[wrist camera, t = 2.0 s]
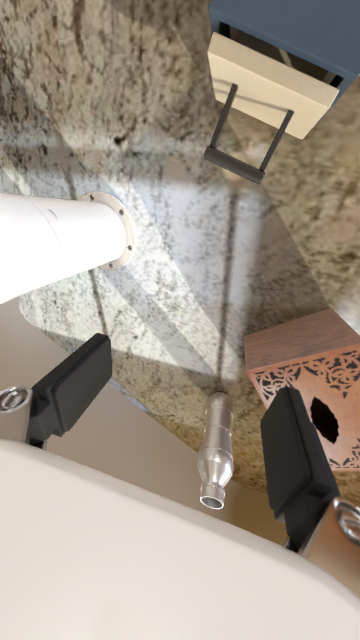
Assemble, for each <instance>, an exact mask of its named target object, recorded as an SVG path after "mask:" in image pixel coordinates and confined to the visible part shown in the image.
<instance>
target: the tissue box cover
mask: <svg viewBox="0 0 360 640" xmlns="http://www.w3.org/2000/svg"><path fill="white" fill-rule="evenodd" d="M244 349H245V365H246V372H247V374H248V376H249V378H250V379H251V381H252V383H253V385H254V387H255V389H256V391H257V393H258V395H259V396H260V398H261V400H262V402H263V404H264V406H265V408H266V410H267V409H268V408H269V406H270V404H271V402H272V401H273V399H274V397H275V396H276V394H277V392H278V390H279V389H280V388H284V387H285V386H287V387H291V388H295V389H298V390H299V391H300V393H301V396H302V399H303V402H304V404H305V407H306V410H307V413H308V415H309V418H310V421H311V422H312V423H313V424H314V426H315V428H316V430H317V433H318V436H319V438H320V441H321V444H322V446H323V449H324V452H325V454H326V457H327V460H328V463H329V465H330V468H331V471H360V336H359V335H358V334H357V333H356V332H355V331H354V330H353V329H352V328H351V327H350V326H349V325H348V324H347V323H346V322H345V321H344V320H343V319H342V318H341V317H340V316H339V315H338V314H337V313H336V312H335V311H334V310H333V309H331V308H328V309H325V310H322V311H319V312H316V313H312V314H309V315H306V316H303V317H300V318H297V319H294V320H291V321H287V322H284V323H281V324H278V325H275V326H272V327H269V328H266V329H263V330H259V331H256V332H253V333H250V334H247V335H244Z"/></svg>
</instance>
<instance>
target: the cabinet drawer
mask: <svg viewBox="0 0 360 640" xmlns="http://www.w3.org/2000/svg"><path fill="white" fill-rule="evenodd" d="M207 53H208V59H209V65H210V70H211V76H212V82H213V88H214V93H215V99H216V100H218V101H220V102H222V103H225V105H224V108H223V111H222V114H221V116H220V119H219V122H218V125H217V127H216V130H215V133H214V135H213V138H212V141H211V144H210V146H207V148H206V151H205V154H204V159H206V160H208V161H210V162H212V163H214V164H216V165H218V166H220V167H222V168H225V169H227V170H229V171H231V172H233V173H235V174H237V175H239V176H241V177H243V178H245V179H248V180H250V181H252V182H254V183H256V184H258V185H259V184H260V182H261V181H262V179H263V177H264V175H265V172H264V171H265V169H266V167H267V165H268V163H269V161H270V159H271V157H272V155H273V153H274V151H275V149H276V147H277V145H278V143H279V141H280V139H281V137H282V135H283V133H284V132H286V133H288V134H290V135H293V136H295V137H297V138H299V139H301V140H302V139H303V138H304V137H305V136H306V135H307V133H308V132H309V131H310V130H311V129H312V128H313V126H314V125H315V124H316V123H317V122H318V121H319V119H320V118H321V117H322V116H323V115H324V114H325V112H326V111H327V110H328V109H329V108H330V106H331V104H332V103H333V101H334V99H335V97H336V96H337V94H338V92H339V89H337V88H335V87H333V86H331V85H329V84H330V83H331V82H332V80H333V79H334V77H335V76H336V74H334V73H332V72H330V71H328V70H326V69H323V68H321V67H319V66H317V65H315V64H313V63H310V62H308V61H306V60H304V59H302V58H299V57H297V56H295V55H293V54H291V53H289V52H286V51H284V50H282V49H280V48H278V47H276V46H273V45H271V44H269V43H267V42H265V41H263V40H260V39H258V38H256V37H254V36H252V35H250V34H247V33H245V32H243V31H241V30H239V29H237V28H234V27H232V26H230V39H229V38H227V37H225V36H223V35H221V34H218V33H216V32H213V34H212V38H211V41H210V44H209V48H208V51H207ZM231 107H233V108H235V109H237V110H239V111H242V112H244V113H246V114H248V115H250V116H252V117H254V118H256V119H259V120H261V121H263V122H265V123H267V124H269V125H271V126H273V127H276V128H278V129H279V130H278V132H277V134H276V136H275V138H274V140H273V142H272V144H271V146H270V148H269V150H268V152H267V154H266V156H265V158H264V160H263V162H262V164H261V166H260V168H259V169H257V168H255V167H253V166H251V165H249V164H247V163H244V162H242V161H240V160H238V159H236V158H234V157H232V156H230V155H228V154H226V153H223V152H221V151H219V150H217V149H215V148H216V145H217V143H218V140H219V138H220V135H221V132H222V130H223V127H224V124H225V122H226V119H227V116H228V114H229V111H230V109H231Z"/></svg>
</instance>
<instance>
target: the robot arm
mask: <svg viewBox="0 0 360 640" xmlns="http://www.w3.org/2000/svg"><path fill="white" fill-rule="evenodd" d="M123 211H124V214H123ZM136 245H137V232H136V227H135V224H134V221H133V218H132V216H131V215H130V213H129V211H128V210H127V208H126V207H125V206H124V205H123V204H122V203H121V202H120V201H119V200H118V199H117V198H115V197H113V196H112V195H110V194H107V193H103V192H89V193H86V194H84V195H82V196H81V197H80V198H79V199H78V200H77V201H75V200H65V199H55V198H49V197H45V198H44V197H34V196H24V195H14V194H6V193H0V304H2V303H4V302H6V301H8V300H10V299H12V298H15V297H17V296H19V295H22V294H24V293H27V292H29V291H32V290H34V289H37V288H40V287H42V286H45V285H48V284H51V283H54V282H57V281H59V280H62V279H65V278H68V277H70V276H73V275H76V274H79V273H81V272H84V271H87V270H90V269H92V268H95V267H99V268H101V269H105V270H115V269H118V268H121V267H123V266H124V265H126V264H127V263H128V262H129V261H130V260H131V259H132V257H133V255H134V253H135V250H136ZM131 247H132V248H131ZM111 376H112V359H111V341H110V339H109V338H108V336H107V335H103V334H100V333H96V334H95V335H94V336H93V337H91V338H90V339H89V340H88V341H87V342H85V343H84V344H83V345H82V346H81V347H79V348H78V349H77V350H76V351H75V352H73V353H72V354H71V355H70V356H69V357H68V358H66V359H65V360H64V361H63V362H61V363H60V364H59V365H58V366H57V367H55V368H54V369H53V370H52V371H51V372H50V373H48V374H47V375H46V376H45V377H43V378H42V379H41V380H40V381H39V382H38V383H36V384H35V385H34V386H33V387H32V388H29V387H28V386H22V385H20V386H14V387H10V388H8V389H5V390H3V391H2V392H0V640H360V506H358V505H357V504H356V503H355V502H353V501H351V500H349V499H348V498H345V497H341V495H340V492H339V489H338V487H337V484H336V481H335V479H334V476H333V473H332V471H331V468H330V465H329V463H328V460H327V457H326V454H325V452H324V449H323V446H322V444H321V441H320V438H319V436H318V433H317V430H316V428H315V426H314V424H313V423H312V422H311V421H310V418H309V415H308V413H307V410H306V407H305V404H304V402H303V399H302V396H301V393H300V391H299V390H298V389H295V388H291V387H287V386H285V387H284V388H280V389H279V390H278V392H277V394H276V396H275V397H274V399H273V401H272V402H271V404H270V406H269V408H268V409H267V411H266V413H265V414H264V416H263V418H262V420H261V425H260V427H261V436H262V445H263V453H264V462H265V471H266V480H267V488H268V496H269V505H270V507H271V509H273V510H274V516H275V520H278V521H280V522H283V523H285V524H286V530H287V534H288V537H287V538H286V540H285V541H284V543H283V545H282V546H280V545H278V544H276V543H273V542H271V541H268V540H266V539H264V538H262V537H259V536H257V535H255V534H252V533H250V532H247V531H245V530H243V529H241V528H238V527H236V526H233V525H231V524H228V523H226V522H224V521H221V520H219V519H216V518H214V517H211V516H209V515H206V514H204V513H202V512H199V511H197V510H194V509H192V508H189V507H187V506H184V505H182V504H179V503H177V502H174V501H172V500H170V499H167V498H164V497H162V496H160V495H157V494H155V493H152V492H150V491H147V490H144V489H142V488H139V487H137V486H135V485H132V484H130V483H127V482H124V481H122V480H120V479H117V478H114V477H112V476H110V475H107V474H104V473H102V472H99V471H97V470H94V469H92V468H89V467H87V466H84V465H82V464H79V463H76V462H74V461H72V460H69V459H66V458H64V457H62V456H59V455H56V454H53V453H51V452H48V451H46V446H47V439H48V438H49V437H50V436H51V434H54V435H57V436H59V437H62V435H63V434H64V433H65V432H67V431H69V430H70V429H71V428H72V427H73V425H74V424H75V423H76V422H77V420H78V419H79V418H80V417H81V415H82V414H83V413H84V411H85V410H86V409H87V407H88V406H89V405H90V404H91V402H92V401H93V400H94V398H95V397H96V396H97V394H98V393H99V392H100V391H101V389H102V388H103V387H104V386H105V384H106V383H107V382H108V381H109V379H110V378H111Z"/></svg>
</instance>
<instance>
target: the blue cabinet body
mask: <svg viewBox="0 0 360 640" xmlns="http://www.w3.org/2000/svg"><path fill="white" fill-rule="evenodd" d="M208 8H209V16H210V22H211V30H212V34H213V32H216V33H218V34H221V35H223V36H225V37H227V38H229V39H230V26H232V27H234V28H237V29H239V30H241V31H243V32H245V33H247V34H250V35H252V36H254V37H256V38H258V39H260V40H263V41H265V42H267V43H269V44H271V45H273V46H276V47H278V48H280V49H282V50H284V51H286V52H289V53H291V54H293V55H295V56H297V57H299V58H302V59H304V60H306V61H308V62H310V63H313V64H315V65H317V66H319V67H321V68H323V69H326V70H328V71H330V72H332V73H334V74H336V76H335V77H334V79H333V80H332V82H331V83H330V84H329V85H331V86H333V87H335V88H337V89H339V92H338V94H337V96H336V97H335V99H334V101H333V103H332V104H331V106H330V108H331V107H332V106H333V105H334V104H335V102H336V101H337V100H338V99H339V98H340V97H341V96H342V94H343V93H344V92H345V91H346V90H347V89H348V88H349V86H350V85H351V84H352V83H353V82H354V81H355V80H356V79H357V77H358V76H359V75H360V0H210V3H209V7H208ZM330 108H329V109H330ZM329 109H328V110H329ZM328 110H327V111H326V112H325V114H326V113H327V112H328ZM325 114H324V115H325ZM324 115H323V116H324ZM323 116H322V117H323ZM322 117H321V118H322ZM321 118H320V119H319V121H320V120H321ZM319 121H318V122H319ZM318 122H317V123H318ZM317 123H316V124H317ZM316 124H315V125H316ZM315 125H314V126H315Z"/></svg>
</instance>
